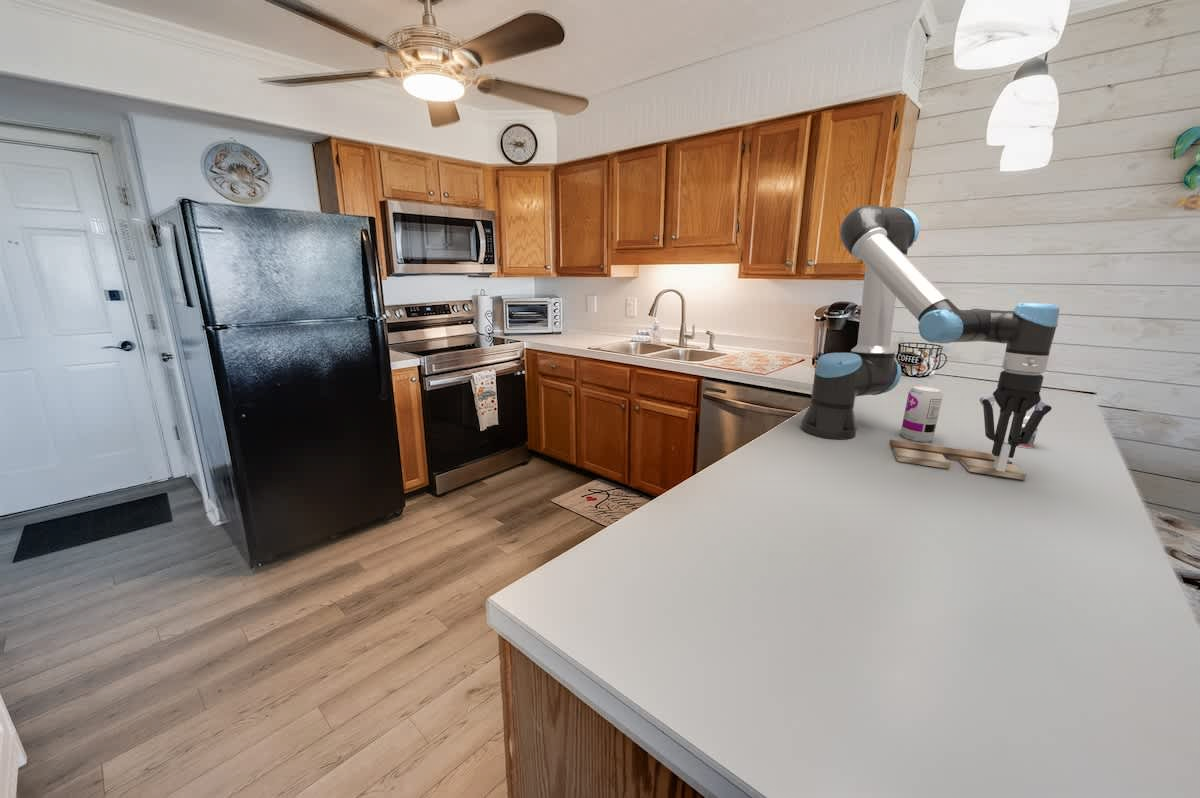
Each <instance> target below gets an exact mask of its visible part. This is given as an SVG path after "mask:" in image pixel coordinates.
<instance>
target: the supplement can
mask: <svg viewBox="0 0 1200 798" xmlns="http://www.w3.org/2000/svg"><path fill="white" fill-rule="evenodd" d="M943 397H944V396H943V393H942V390H941V389H940V388H936V387H932V386H925V385H913V386H912V387H911V389H910V390H909V391H908V394H907V399H906V405H905V409H904V412H903V413H904V414H903V418H902V419H903V420H902V423H901V429H900V434H901V436H902V437H903V438H905V439H907V440H910V441H913V442H914V441H915V442H920V443H927V442H930V441H932V440H934V436H935V433H936V428H937V423H938V419H939V415H940V410H941V406H942V405H941V404H942V401H943Z"/></svg>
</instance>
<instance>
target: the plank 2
mask: <svg viewBox="0 0 1200 798" xmlns="http://www.w3.org/2000/svg"><path fill="white" fill-rule="evenodd" d="M959 463H961V464H962V466H963V467H964V468H965V469H966V470H967V471H968V472H972V473H977V474H984V475H989V476H996V477H1002V478H1010V479H1015V480H1023V481H1025V480H1026V478H1027V474H1028V473H1026V472H1023V471H1022V470H1020V469H1019V468H1018V467H1017V466H1015V464H1013V463H1012V464H1007V465H1006V469H1005V472H1003V471H997V470H996V469H995V468H994V467H993V466H994V462H992V461H985V460H978V459H971V458H964V457H960V461H959Z"/></svg>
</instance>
